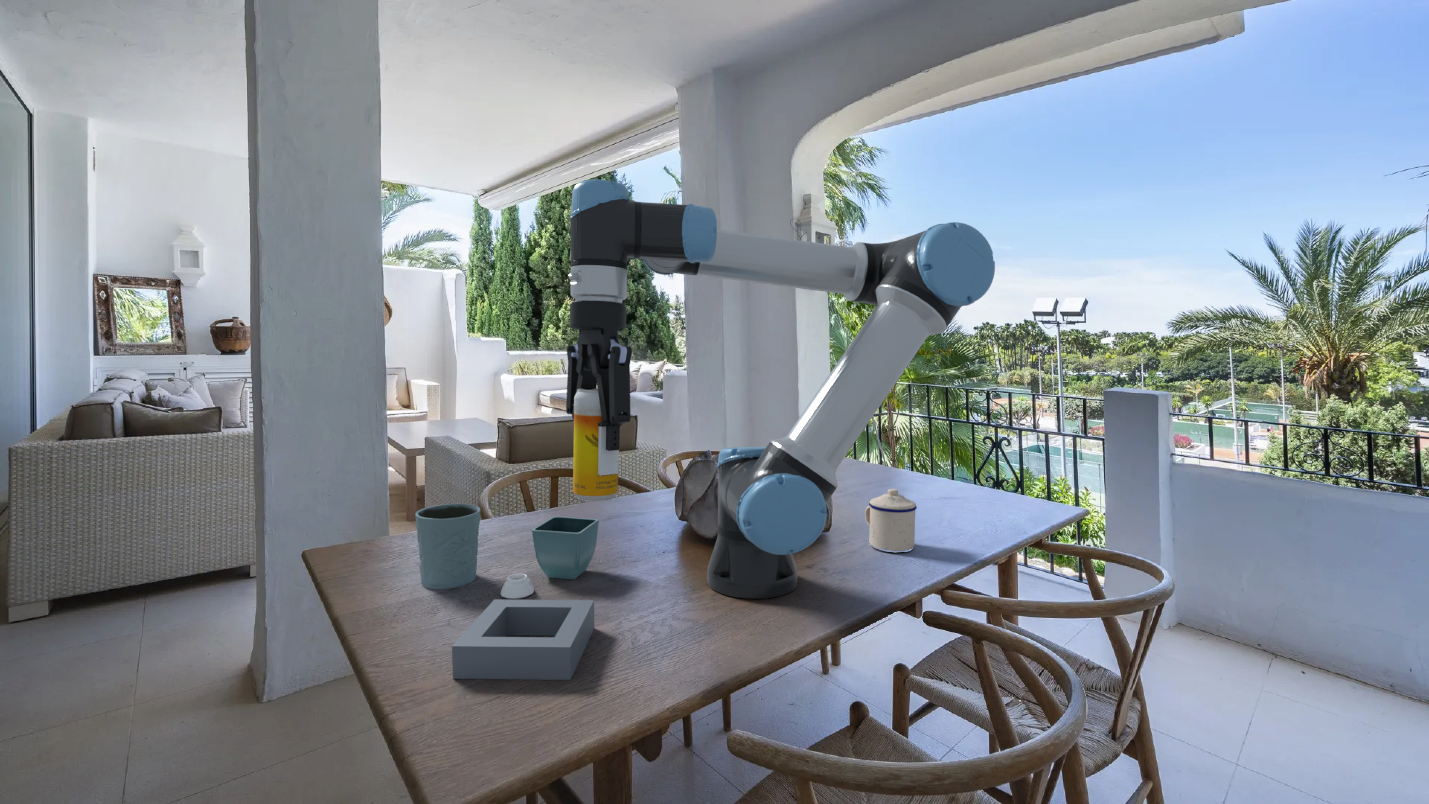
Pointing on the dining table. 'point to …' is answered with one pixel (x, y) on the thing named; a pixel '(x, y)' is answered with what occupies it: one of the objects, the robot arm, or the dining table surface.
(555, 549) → the flower pot
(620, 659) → the dining table surface
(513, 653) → the sleeve
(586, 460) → the beer can
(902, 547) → the teacup with lid
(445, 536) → the light blue cup
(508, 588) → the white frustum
